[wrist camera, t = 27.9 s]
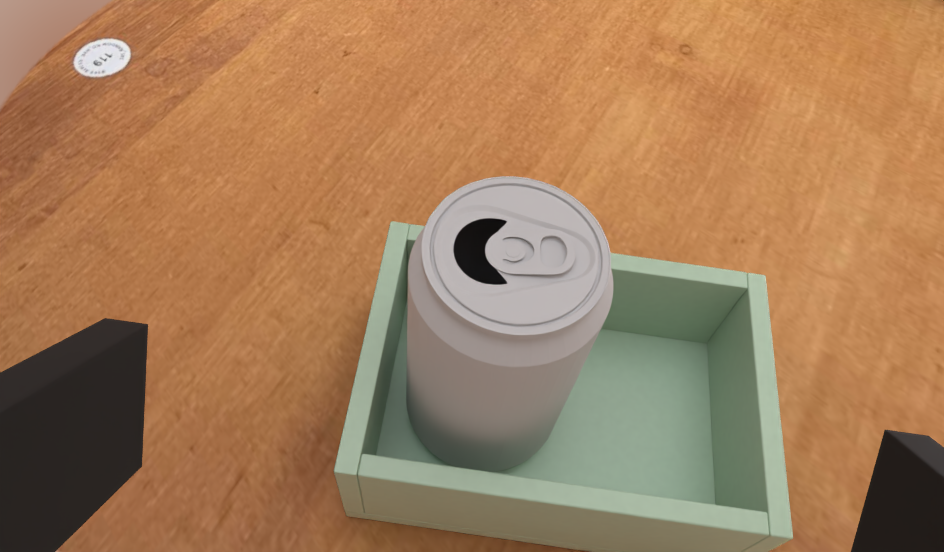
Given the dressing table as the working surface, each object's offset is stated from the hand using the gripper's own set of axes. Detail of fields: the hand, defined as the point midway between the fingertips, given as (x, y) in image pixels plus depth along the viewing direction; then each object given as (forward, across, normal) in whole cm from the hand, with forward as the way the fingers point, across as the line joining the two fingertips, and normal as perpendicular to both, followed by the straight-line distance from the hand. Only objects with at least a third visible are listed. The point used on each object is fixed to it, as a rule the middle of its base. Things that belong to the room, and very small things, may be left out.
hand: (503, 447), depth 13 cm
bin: (+18, +3, -7) cm, 20 cm away
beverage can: (+18, 0, -7) cm, 19 cm away
